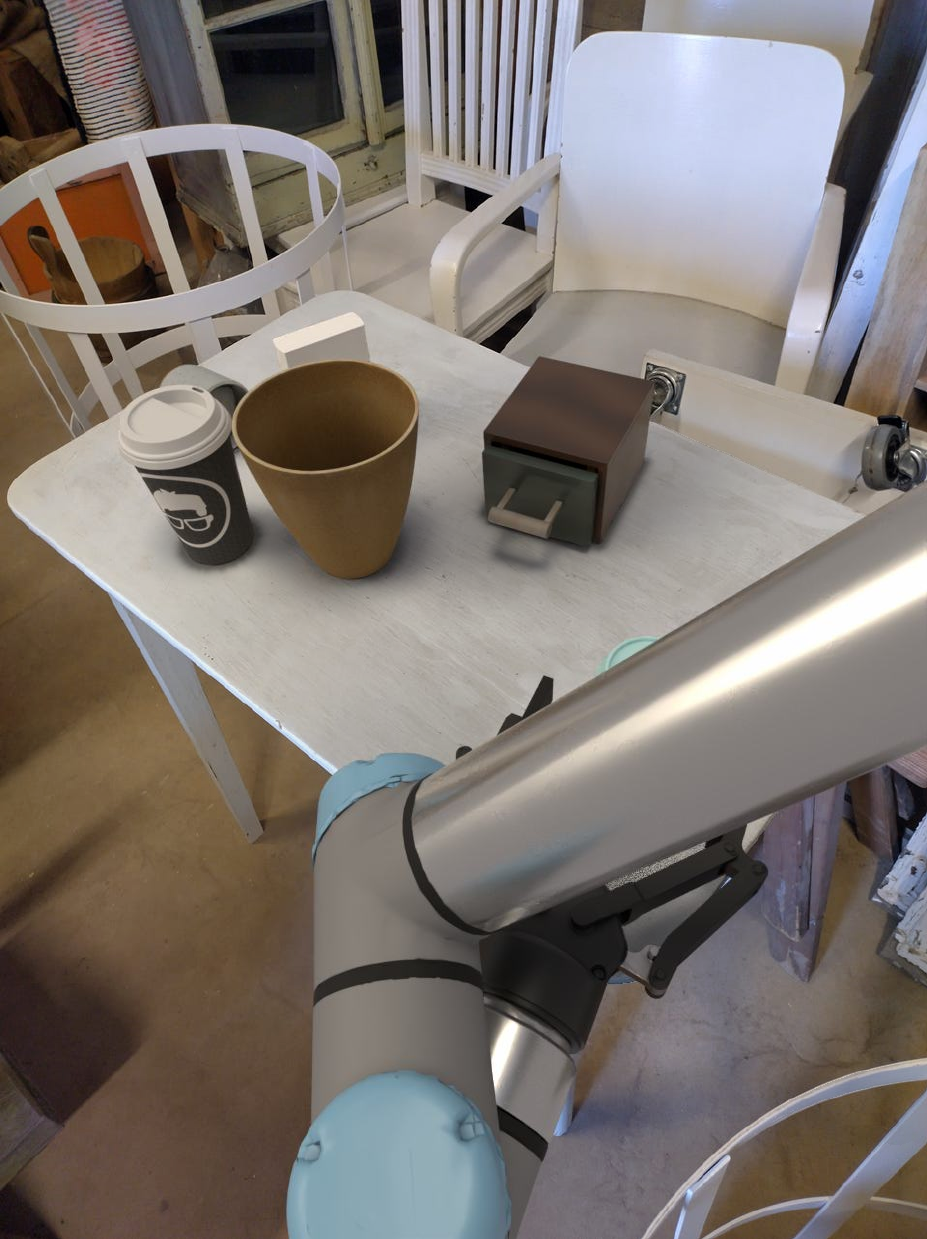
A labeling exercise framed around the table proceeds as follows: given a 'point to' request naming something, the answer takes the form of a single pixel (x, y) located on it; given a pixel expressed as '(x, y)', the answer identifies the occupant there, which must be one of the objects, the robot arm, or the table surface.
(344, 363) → the plant pot
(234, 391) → the ceramic mug
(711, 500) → the table surface
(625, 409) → the cabinet
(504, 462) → the drawer
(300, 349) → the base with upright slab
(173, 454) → the coffee cup
